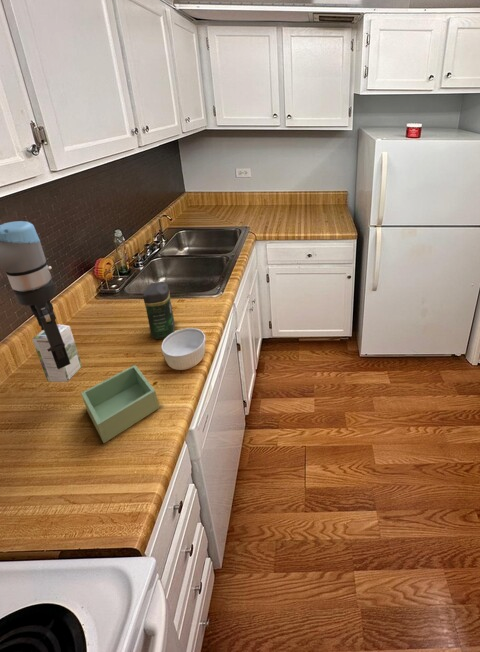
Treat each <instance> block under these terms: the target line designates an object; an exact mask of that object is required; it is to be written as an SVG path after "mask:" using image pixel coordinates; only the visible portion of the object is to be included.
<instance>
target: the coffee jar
mask: <svg viewBox="0 0 480 652" xmlns="http://www.w3.org/2000/svg"><path fill="white" fill-rule="evenodd" d="M142 297H143V303H144V307H145V311H146V317H147V320H148V326H149V331H150V336H151V338H152V339H155V340H161V339H162V340H164V339H165V338H166V337H167V336H168V335H170V334H171V333H173V332H175V328H176V321H175V317H174V311H173V306H172V300H171V295H170V289H169V285H168V284H167V283H166V282H164V281H158V282H157V281H156V282H151V283H150V284H148V285H147V286H146V287H145V289H144V291H143V295H142Z"/></svg>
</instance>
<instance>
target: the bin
mask: <svg viewBox="0 0 480 652" xmlns="http://www.w3.org/2000/svg"><path fill="white" fill-rule="evenodd" d="M80 394H81V397H82V400H83V403H84V406H85V409H86V411H87V414H88V415H89V418H90V420H91V421H92V423H93V426H94V428H95V429H96V431H97V433H98V435H99V437H100V439H101V441H102V443H103V444H105V443H107V442H109V441H110V440H112V439H113V438H115V437H116V436H118V435H120V434H121V433H122V432H125V431H126V430H127V429H130V427H132V426H133V425H135V424H137V423H139V422H140V421H141V420H143V419H144V418H146V417H148V416H149V415H151V414H152V413H154V412H156V411H157V410H159V409H160V405H159V400H158V397H157V396H158V395H157V391H156V390H155V388H154V387H153V386H152V384H151V383H150V382H149V380H148V379H147V378H146V377H145V375H144V374H143V373H142V371H141V370H140V369H139V368H138V366H137V365H136V364H134V365H132V366H130V367H128V368H125V369H124V370H122V371H120V372H118V373H116V374H114V375H113V376H110V377H109V378H107V379H104V380H103V381H101V382H99V383H97V384H95V385H93V386H91V387H89V388H88V389H85V390H84V391H81V392H80Z"/></svg>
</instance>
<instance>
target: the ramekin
mask: <svg viewBox="0 0 480 652" xmlns="http://www.w3.org/2000/svg"><path fill="white" fill-rule="evenodd" d="M206 341H207V340H206V334H205V332H204V331H203V330H202V329H199V328H196V327H185V328H180V329H178V330H174V332H173V333H171V334H170V335H168V336H167V337H166V338H163V341H162V343H161V345H160V349H161V353H162V355H163V357H164V360H165V363H166V364H167V366H169V367H170V368H171V369H173V370H176V371H185V370H188V369H192V368H194V367H195V366H197V365H199V364H200V362H201V361H202V360H203V359H204V358H205V357H204V356H205V354H206Z"/></svg>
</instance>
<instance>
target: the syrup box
mask: <svg viewBox="0 0 480 652" xmlns="http://www.w3.org/2000/svg"><path fill="white" fill-rule="evenodd" d="M57 326H58V329H59V332H60V334H61V337H62V340H63V343H64V344H65V349H66V352H67V355H68V358H69V361H70V364H69V365H67V366H65V367H63V368H60V369H58V368H57V366H56V363H55V360H54V358H53V355H52V352H51V351H49V352H48V350H47V349H49V348H50V344H49V342H48V339H47V337H46V334H45V332H44V330H43V331H42V330H41V331H40V332H38V333H37V334H36V335H35V336H33V338H32V339H31V340H32V343H33V345H34V348H35V351H36V354H37V357H38V359H39V363H40V365H41V367H42V371H43V373H44V376H45V379H46V381H47V382H49V383H69V382H70V380H71V379H72V378H73V377H75V375H76V374H77V373H78V372H79V371H80V369H81V368H83V365H82V362H81V358H80V355H79V352H78V348H77V345H76V341H75V338H74V335H73V332H72V328H71V326H70V325H68V324H67V325H66V324H57Z"/></svg>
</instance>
